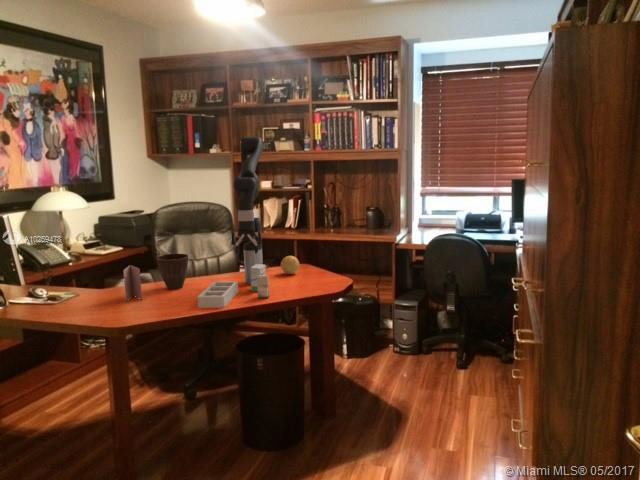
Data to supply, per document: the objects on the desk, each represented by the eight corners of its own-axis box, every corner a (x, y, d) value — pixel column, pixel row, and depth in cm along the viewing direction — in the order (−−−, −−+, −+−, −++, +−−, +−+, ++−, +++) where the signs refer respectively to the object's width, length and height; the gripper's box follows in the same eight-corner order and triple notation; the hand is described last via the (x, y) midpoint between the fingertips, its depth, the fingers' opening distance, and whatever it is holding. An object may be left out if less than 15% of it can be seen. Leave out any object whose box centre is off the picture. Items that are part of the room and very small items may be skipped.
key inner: (216, 287, 255) (216, 284, 255) (233, 287, 255) (233, 284, 254) (213, 291, 249) (212, 288, 249) (230, 290, 249) (230, 287, 248)
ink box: (256, 287, 265) (255, 263, 263) (266, 287, 263) (265, 263, 262) (250, 291, 256) (249, 267, 254) (261, 292, 255) (260, 267, 253)
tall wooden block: (260, 296, 248) (259, 275, 246) (269, 296, 248) (268, 274, 246) (258, 298, 244) (257, 277, 242) (267, 298, 243) (266, 277, 242)
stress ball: (291, 273, 296) (276, 262, 294) (302, 260, 295) (288, 249, 292) (292, 280, 287) (277, 269, 284) (303, 266, 285) (288, 256, 282)
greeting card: (130, 295, 255) (128, 264, 252) (146, 295, 256) (144, 264, 253) (124, 302, 244) (121, 270, 241) (141, 301, 244) (138, 269, 242)
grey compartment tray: (214, 292, 258) (214, 281, 257) (238, 291, 257) (237, 281, 256) (198, 307, 232) (197, 296, 231) (224, 307, 231) (223, 296, 230)
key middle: (211, 292, 247) (211, 289, 247) (229, 292, 247) (229, 289, 246) (208, 295, 241) (207, 293, 241) (226, 295, 241) (225, 293, 240)
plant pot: (192, 289, 263) (189, 257, 260) (160, 293, 258) (157, 260, 255) (188, 283, 277) (186, 252, 274) (158, 286, 272) (156, 255, 269)
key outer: (206, 297, 239) (206, 293, 239) (224, 296, 239) (224, 293, 238) (202, 300, 233) (202, 297, 233) (221, 300, 233) (221, 297, 232)
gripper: (262, 219, 259) (262, 252, 261) (232, 219, 259) (233, 252, 261) (259, 220, 251) (260, 254, 253) (229, 220, 252) (230, 254, 254)
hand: (247, 253), depth 257 cm, fingers open, 8 cm apart
